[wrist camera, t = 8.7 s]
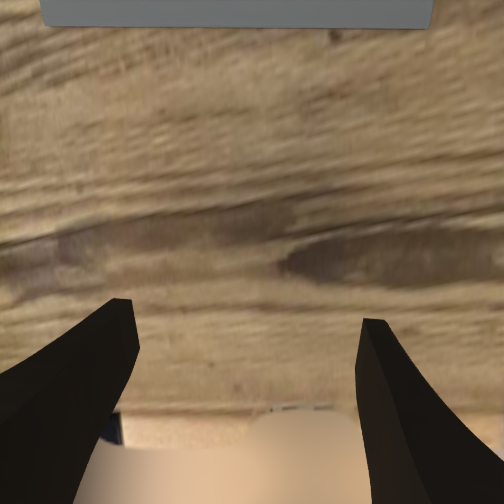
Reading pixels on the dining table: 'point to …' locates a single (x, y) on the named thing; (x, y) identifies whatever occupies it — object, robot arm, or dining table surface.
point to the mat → (240, 13)
